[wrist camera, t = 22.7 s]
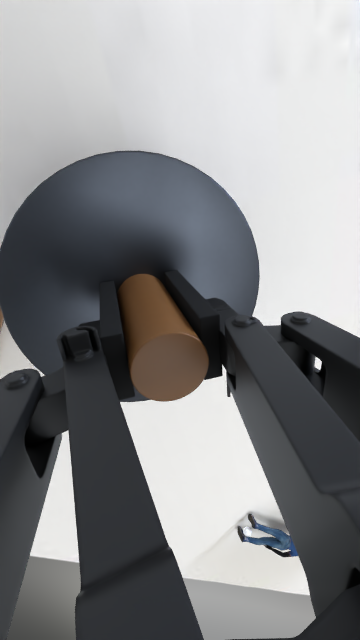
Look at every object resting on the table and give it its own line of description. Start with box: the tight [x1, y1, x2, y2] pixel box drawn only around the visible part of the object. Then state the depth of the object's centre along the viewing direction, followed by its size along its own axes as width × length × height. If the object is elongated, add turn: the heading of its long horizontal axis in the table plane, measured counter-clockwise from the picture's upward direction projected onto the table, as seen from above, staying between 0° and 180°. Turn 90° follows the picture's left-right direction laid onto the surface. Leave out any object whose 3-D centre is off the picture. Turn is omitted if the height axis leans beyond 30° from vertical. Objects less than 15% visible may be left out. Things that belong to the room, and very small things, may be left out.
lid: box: [0, 151, 259, 402], centre depth 14 cm, size 15×15×9 cm
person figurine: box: [238, 514, 298, 557], centre depth 60 cm, size 11×4×18 cm
